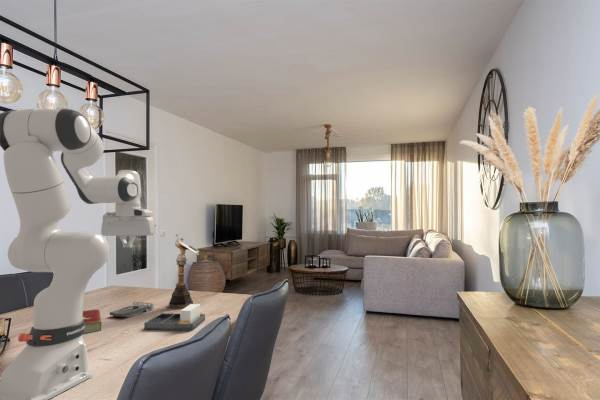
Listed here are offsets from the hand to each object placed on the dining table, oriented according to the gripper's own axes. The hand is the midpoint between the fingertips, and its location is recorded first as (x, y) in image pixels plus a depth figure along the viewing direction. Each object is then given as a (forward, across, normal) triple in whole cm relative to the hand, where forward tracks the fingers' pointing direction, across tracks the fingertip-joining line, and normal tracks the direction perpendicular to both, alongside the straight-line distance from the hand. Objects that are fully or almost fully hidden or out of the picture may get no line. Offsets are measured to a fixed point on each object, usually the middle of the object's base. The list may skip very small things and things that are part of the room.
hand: (127, 247), depth 136 cm
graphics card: (+32, -11, +21) cm, 40 cm away
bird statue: (+31, +8, +37) cm, 49 cm away
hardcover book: (+32, -20, +2) cm, 37 cm away
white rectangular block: (+30, +23, +6) cm, 38 cm away
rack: (+31, +17, +6) cm, 36 cm away
